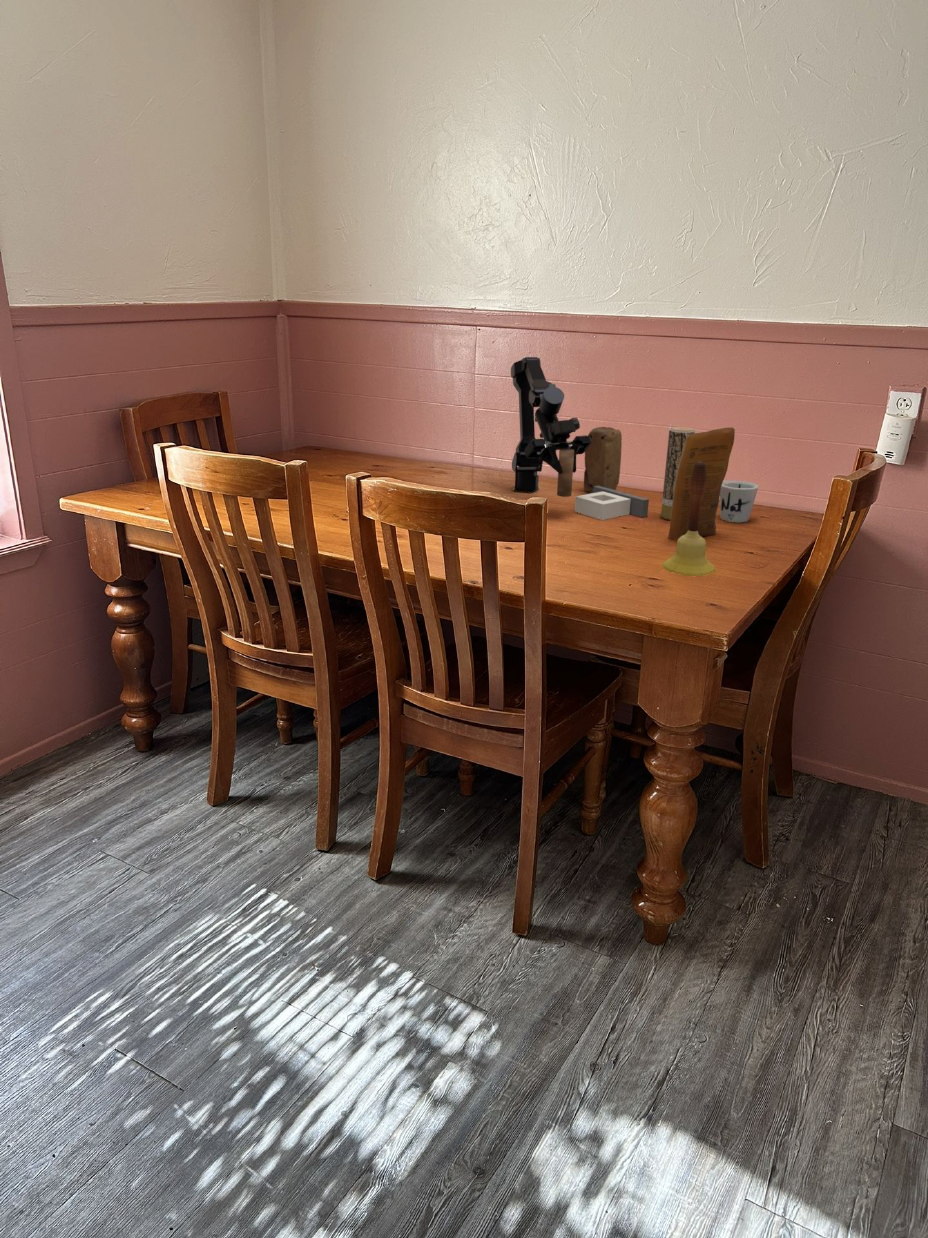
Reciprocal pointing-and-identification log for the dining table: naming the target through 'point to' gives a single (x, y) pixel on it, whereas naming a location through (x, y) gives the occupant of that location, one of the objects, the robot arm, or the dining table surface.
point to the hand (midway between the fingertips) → (568, 472)
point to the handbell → (692, 534)
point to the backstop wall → (636, 505)
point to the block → (603, 458)
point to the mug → (737, 500)
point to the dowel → (565, 472)
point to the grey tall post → (673, 465)
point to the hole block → (602, 505)
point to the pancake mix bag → (716, 457)
